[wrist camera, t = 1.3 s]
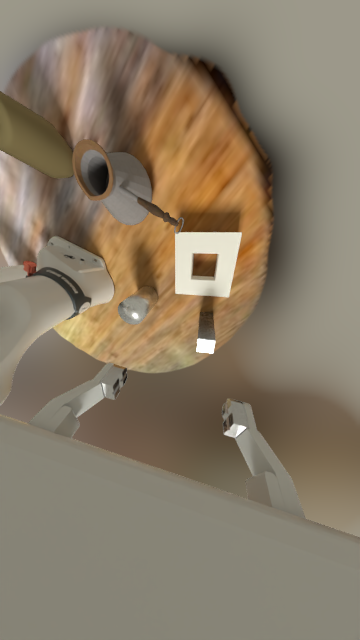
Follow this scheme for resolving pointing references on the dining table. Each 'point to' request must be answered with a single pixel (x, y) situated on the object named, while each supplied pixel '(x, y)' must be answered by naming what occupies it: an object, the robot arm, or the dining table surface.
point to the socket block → (205, 243)
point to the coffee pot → (116, 183)
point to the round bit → (138, 305)
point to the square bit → (206, 333)
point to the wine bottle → (12, 273)
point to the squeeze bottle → (33, 140)
